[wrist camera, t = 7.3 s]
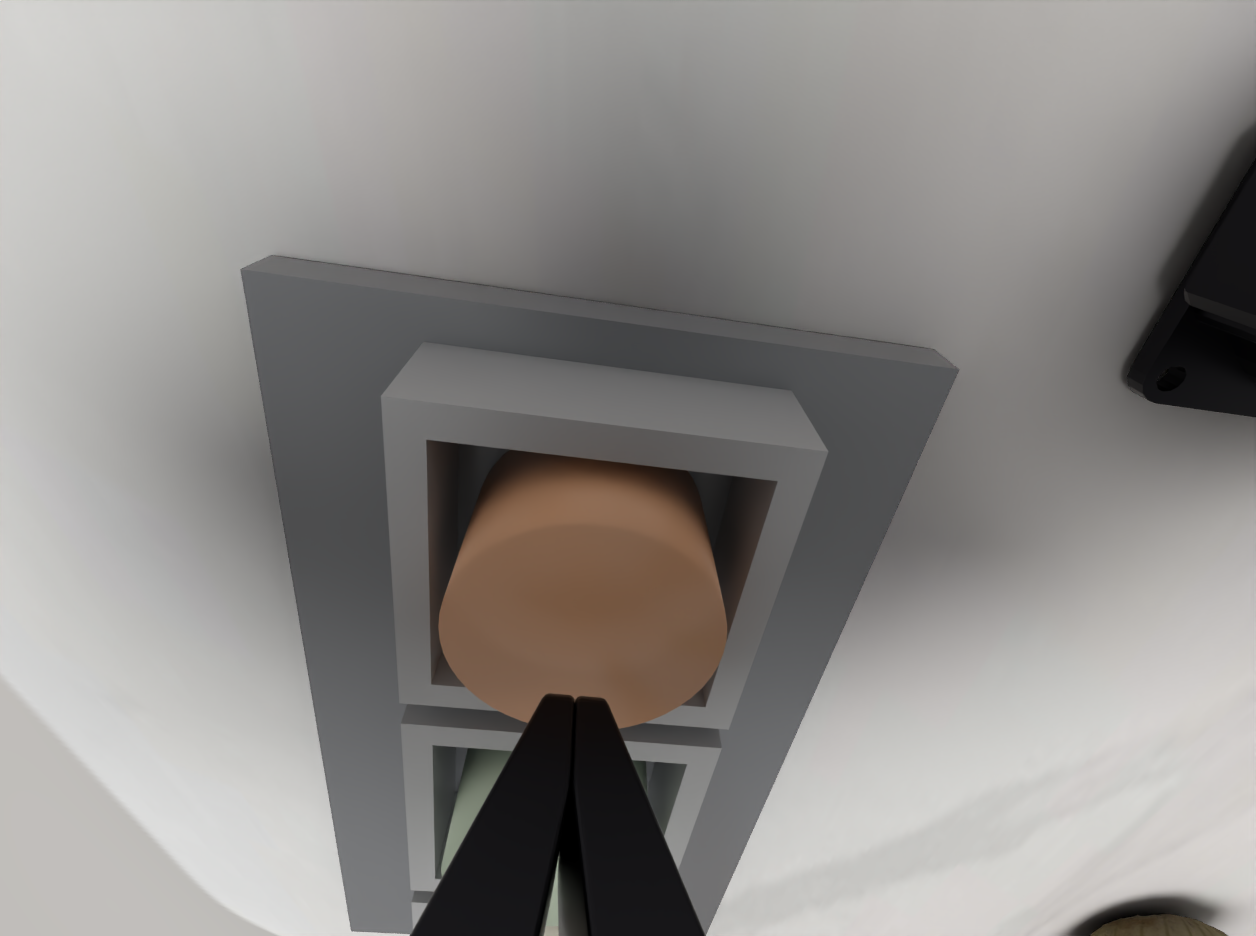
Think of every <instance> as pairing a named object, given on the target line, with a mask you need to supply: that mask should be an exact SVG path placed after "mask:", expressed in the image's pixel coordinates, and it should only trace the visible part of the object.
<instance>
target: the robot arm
mask: <svg viewBox="0 0 1256 936" xmlns="http://www.w3.org/2000/svg"><path fill="white" fill-rule="evenodd" d="M1168 368H1169V370H1168V372H1167V373H1166V375H1165V376H1164V377H1163V378H1162V379H1160V380H1158V377H1159V376H1160V375H1161V374H1162V373H1163V371H1164V370H1166V369H1168ZM1157 380H1158V381H1157ZM1127 382H1128V386H1129V388H1130V389H1131V390H1132V392H1134V393H1136V394H1138V395H1139V396H1141V397H1143V398H1145V399H1146V400H1149V401H1151V402H1154V403H1158V404H1165V405H1172V406H1179V407H1186V408H1194V409H1201V410H1208V411H1215V412H1223V413H1230V414H1237V415H1244V416H1251V417H1256V159H1255V160H1254V162H1253V164H1252V165H1251V167H1250V169H1249V170H1248V172H1247V174H1246V175H1245V177H1244V179H1243V180H1242V182H1241V184H1240V185H1239V187H1238V189H1237V190H1236V192H1235V194H1234V195H1233V197H1232V199H1231V200H1230V202H1229V204H1228V205H1227V207H1226V209H1225V210H1224V212H1223V214H1222V216H1221V217H1220V219H1219V221H1218V222H1217V224H1216V226H1215V227H1214V229H1213V231H1212V232H1211V234H1210V236H1209V237H1208V239H1207V241H1206V242H1205V244H1204V246H1203V247H1202V249H1201V251H1200V252H1199V254H1198V256H1197V257H1196V259H1195V261H1194V262H1193V264H1192V266H1191V267H1190V269H1189V271H1188V272H1187V274H1186V276H1185V277H1184V279H1183V281H1182V282H1181V284H1180V286H1179V288H1178V289H1177V291H1176V293H1175V294H1174V296H1173V298H1172V299H1171V301H1170V303H1169V304H1168V306H1167V308H1166V309H1165V311H1164V313H1163V314H1162V316H1161V318H1160V319H1159V321H1158V323H1157V324H1156V326H1155V328H1154V329H1153V331H1152V333H1151V334H1150V336H1149V338H1148V339H1147V341H1146V343H1145V344H1144V346H1143V348H1142V349H1141V351H1140V353H1139V354H1138V356H1137V358H1136V360H1135V361H1134V363H1133V365H1132V366H1131V368H1130V371H1129V373H1128V376H1127ZM558 857H559V858H558ZM557 862H558V930H559V936H706V935H705V932H704V930H703V927H702V925H701V923H700V920H699V918H698V916H697V913H696V911H695V908H694V906H693V904H692V901H691V899H690V897H689V894H688V892H687V889H686V887H685V885H684V882H683V880H682V878H681V875H680V873H679V870H678V868H677V866H676V863H675V861H674V858H673V856H672V854H671V851H670V849H669V847H668V844H667V842H666V839H665V837H664V835H663V832H662V830H661V828H660V825H659V823H658V820H657V818H656V816H655V813H654V811H653V809H652V806H651V804H650V801H649V799H648V797H647V794H646V792H645V790H644V787H643V785H642V782H641V780H640V778H639V775H638V773H637V771H636V768H635V766H634V763H633V761H632V759H631V756H630V754H629V752H628V749H627V747H626V744H625V742H624V740H623V737H622V735H621V733H620V730H619V728H618V725H617V723H616V721H615V718H614V716H613V714H612V711H611V709H610V706H609V704H608V703H607V701H606V700H605V699H604V698H601V697H589V696H579V697H577V698H576V699H574V697H572V696H571V695H565V694H553V693H548V694H545V695H544V696H543V698H542V699H541V701H540V702H539V704H538V706H537V708H536V710H535V711H534V713H533V715H532V717H531V719H530V720H529V722H528V724H527V726H526V728H525V729H524V731H523V733H522V735H521V737H520V738H519V740H518V742H517V744H516V746H515V747H514V749H513V751H512V753H511V755H510V756H509V758H508V760H507V762H506V764H505V765H504V767H503V769H502V771H501V773H500V774H499V776H498V778H497V780H496V782H495V783H494V785H493V787H492V789H491V791H490V792H489V794H488V796H487V798H486V799H485V801H484V803H483V805H482V807H481V808H480V810H479V812H478V814H477V816H476V817H475V819H474V821H473V823H472V825H471V826H470V828H469V830H468V832H467V834H466V835H465V837H464V839H463V841H462V843H461V844H460V846H459V848H458V850H457V852H456V853H455V855H454V857H453V859H452V861H451V862H450V864H449V866H448V868H447V870H446V871H445V873H444V875H443V877H442V879H441V880H440V882H439V884H438V886H437V887H436V889H435V891H434V893H433V895H432V896H431V898H430V900H429V902H428V904H427V905H426V907H425V909H424V911H423V913H422V914H421V916H420V918H419V920H418V922H417V923H416V925H415V927H414V929H413V931H412V932H411V934H410V936H544V932H545V927H546V922H547V917H548V912H549V907H550V902H551V897H552V892H553V886H554V880H555V874H556V868H557Z"/></svg>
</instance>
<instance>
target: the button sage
mask: <svg viewBox="0 0 1256 936" xmlns="http://www.w3.org/2000/svg"><path fill="white" fill-rule="evenodd" d="M511 753H512V751H504V750H490V749H477V748H468V749H467V754H466V758H465V762H464V767H463V771H462V776H461V780H460V785H459V789H458V793H457V798H456V802H455V807H454V811H453V816H452V820H451V824H450V829H449V833H448V838H447V842H446V847H445V851H444V855H443V860H442V866H441V874H442V877H443V875H444V873H445V871H446V870H447V868H448V866H449V864H450V862H451V861H452V859H453V857H454V855H455V853H456V852H457V850H458V848H459V846H460V844H461V843H462V841H463V839H464V837H465V835H466V834H467V832H468V830H469V828H470V826H471V825H472V823H473V821H474V819H475V817H476V816H477V814H478V812H479V810H480V808H481V807H482V805H483V803H484V801H485V799H486V798H487V796H488V794H489V792H490V791H491V789H492V787H493V785H494V783H495V782H496V780H497V778H498V776H499V774H500V773H501V771H502V769H503V767H504V765H505V764H506V762H507V760H508V758H509V756H510V755H511ZM632 761H633V763H634V766H635V768H636V771H637V773H638V775H639V778H640V780H641V782H642V785H643V787H644V790H645V792H646V794H647V797H648V791H647V770H646V761H638V760H632ZM558 858H559V857H558ZM546 926H558V862H557V868H556V874H555V880H554V886H553V892H552V897H551V902H550V907H549V912H548V917H547V922H546Z"/></svg>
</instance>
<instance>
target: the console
mask: <svg viewBox="0 0 1256 936" xmlns="http://www.w3.org/2000/svg"><path fill="white" fill-rule="evenodd" d="M241 274H242V280H243V286H244V292H245V298H246V304H247V310H248V316H249V322H250V328H251V334H252V340H253V346H254V352H255V358H256V364H257V370H258V376H259V382H260V388H261V394H262V400H263V406H264V412H265V418H266V424H267V430H268V436H269V442H270V448H271V454H272V460H273V466H274V472H275V478H276V484H277V490H278V496H279V502H280V508H281V514H282V520H283V526H284V532H285V538H286V544H287V550H288V556H289V562H290V568H291V574H292V580H293V586H294V591H295V597H296V603H297V609H298V615H299V621H300V627H301V633H302V639H303V645H304V651H305V657H306V663H307V669H308V675H309V681H310V687H311V693H312V699H313V705H314V711H315V717H316V723H317V729H318V735H319V741H320V747H321V753H322V759H323V765H324V771H325V777H326V783H327V789H328V795H329V801H330V807H331V813H332V819H333V825H334V831H335V837H336V843H337V849H338V855H339V861H340V867H341V873H342V879H343V885H344V891H345V897H346V903H347V909H348V915H349V921H350V927H351V931H357V932H378V933H400V934H411V932H412V931H413V929H414V927H415V925H416V923H417V922H418V920H419V918H420V916H421V914H422V913H423V911H424V909H425V907H426V905H427V904H428V902H429V900H430V898H431V896H432V895H433V893H434V891H435V889H436V887H437V886H438V884H439V882H440V880H441V879H442V874H441V866H442V860H443V855H444V851H445V847H446V842H447V838H448V833H449V829H450V824H451V820H452V816H453V811H454V807H455V802H456V798H457V793H458V789H459V785H460V780H461V776H462V771H463V767H464V762H465V758H466V754H467V749H468V748H477V749H490V750H504V751H513V749H514V747H515V746H516V744H517V742H518V740H519V738H520V737H521V735H522V733H523V731H524V729H525V728H526V726H527V724H528V723H526V722H523V721H520V720H518V719H515V718H513V717H510V716H508V715H505V714H504V713H502V712H500V711H498V710H496V709H494V708H492V707H491V706H489V705H488V704H486V703H485V702H483V701H482V700H480V699H479V698H478V697H476V696H475V695H474V694H473V693H472V692H471V691H469V690H468V689H467V688H466V687H465V686H464V685H463V683H462V682H461V681H460V680H459V679H458V678H457V676H456V675H455V673H454V672H453V671H452V669H451V668H450V666H449V664H448V662H447V660H446V658H445V656H444V654H443V650H442V647H441V643H440V638H439V629H438V624H439V613H440V609H441V605H442V602H443V598H444V595H445V592H446V589H447V586H448V584H449V581H450V578H451V575H452V572H453V569H454V566H455V563H456V560H457V557H458V554H459V551H460V548H461V546H462V543H463V540H464V537H465V534H466V531H467V528H468V525H469V522H470V519H471V516H472V513H473V510H474V508H475V505H476V502H477V499H478V496H479V493H480V490H481V487H482V485H483V483H484V481H485V479H486V476H487V475H488V473H489V472H490V470H491V469H492V467H493V466H494V465H495V464H496V462H497V461H498V460H499V459H500V458H501V457H502V456H503V455H504V454H505V453H506V452H508V451H509V450H519V451H527V452H535V453H544V454H552V455H561V456H569V457H578V458H586V459H595V460H603V461H611V462H620V463H628V464H637V465H645V466H654V467H662V468H670V469H679V470H687V471H688V472H689V474H690V475H691V477H692V478H693V480H694V482H695V484H696V486H697V488H698V492H699V495H700V498H701V501H702V506H703V511H704V515H705V520H706V525H707V529H708V534H709V539H710V543H711V548H712V553H713V557H714V562H715V566H716V571H717V576H718V580H719V585H720V590H721V594H722V599H723V604H724V608H725V613H726V621H727V640H726V645H725V649H724V653H723V656H722V658H721V660H720V663H719V665H718V667H717V669H716V670H715V672H714V673H713V675H712V677H711V678H710V679H709V680H708V682H707V683H706V684H705V685H704V686H703V687H702V689H700V690H699V691H698V692H697V693H696V694H695V695H694V696H693V697H692V698H690V699H689V700H688V701H686V702H685V703H683V704H682V705H681V706H679V707H677V708H676V709H674V710H672V711H670V712H668V713H667V714H665V715H662V716H660V717H658V718H655V719H653V720H650V721H647V722H644V723H641V724H638V725H634V726H630V727H625V728H621V729H619V730H620V733H621V735H622V737H623V740H624V742H625V744H626V747H627V749H628V752H629V754H630V756H631V759H632V760H638V761H646V770H647V791H648V799H649V801H650V804H651V806H652V809H653V811H654V813H655V816H656V818H657V820H658V823H659V825H660V828H661V830H662V832H663V835H664V837H665V839H666V842H667V844H668V847H669V849H670V851H671V854H672V856H673V858H674V861H675V863H676V866H677V868H678V870H679V873H680V875H681V878H682V880H683V882H684V885H685V887H686V889H687V892H688V894H689V897H690V899H691V901H692V904H693V906H694V908H695V911H696V913H697V916H698V918H699V920H700V923H701V925H702V927H703V930H704V932H705V935H706V934H707V931H708V929H709V927H710V925H711V923H712V920H713V918H714V916H715V914H716V911H717V909H718V907H719V905H720V902H721V900H722V898H723V896H724V893H725V891H726V889H727V887H728V885H729V882H730V880H731V878H732V876H733V873H734V871H735V869H736V867H737V864H738V862H739V860H740V858H741V856H742V853H743V851H744V849H745V847H746V844H747V842H748V840H749V838H750V835H751V833H752V831H753V829H754V826H755V824H756V822H757V820H758V818H759V815H760V813H761V811H762V809H763V806H764V804H765V802H766V800H767V797H768V795H769V793H770V791H771V789H772V786H773V784H774V782H775V780H776V777H777V775H778V773H779V771H780V768H781V766H782V764H783V762H784V760H785V757H786V755H787V753H788V751H789V748H790V746H791V744H792V742H793V739H794V737H795V735H796V733H797V730H798V728H799V726H800V724H801V722H802V719H803V717H804V715H805V713H806V710H807V708H808V706H809V704H810V701H811V699H812V697H813V695H814V693H815V690H816V688H817V686H818V684H819V681H820V679H821V677H822V675H823V672H824V670H825V668H826V666H827V664H828V661H829V659H830V657H831V655H832V652H833V650H834V648H835V646H836V643H837V641H838V639H839V637H840V634H841V632H842V630H843V628H844V626H845V623H846V621H847V619H848V617H849V614H850V612H851V610H852V608H853V605H854V603H855V601H856V599H857V597H858V594H859V592H860V590H861V588H862V585H863V583H864V581H865V579H866V576H867V574H868V572H869V570H870V567H871V565H872V563H873V561H874V559H875V556H876V554H877V552H878V550H879V547H880V545H881V543H882V541H883V538H884V536H885V534H886V532H887V530H888V527H889V525H890V523H891V521H892V518H893V516H894V514H895V512H896V509H897V507H898V505H899V503H900V501H901V498H902V496H903V494H904V492H905V489H906V487H907V485H908V483H909V480H910V478H911V476H912V474H913V471H914V469H915V467H916V465H917V463H918V460H919V458H920V456H921V454H922V451H923V449H924V447H925V445H926V442H927V440H928V438H929V436H930V434H931V431H932V429H933V427H934V425H935V422H936V420H937V418H938V416H939V413H940V411H941V409H942V407H943V405H944V402H945V400H946V398H947V396H948V393H949V391H950V389H951V387H952V384H953V382H954V380H955V378H956V375H957V373H958V371H959V369H958V368H957V367H956V366H954V365H953V364H952V363H951V362H949V361H948V360H947V359H946V358H944V357H943V356H942V355H940V354H939V353H938V352H937V351H935V350H934V349H928V348H921V347H914V346H907V345H900V344H893V343H886V342H879V341H872V340H865V339H858V338H850V337H843V336H836V335H829V334H822V333H815V332H808V331H801V330H794V329H787V328H780V327H773V326H766V325H759V324H752V323H745V322H738V321H731V320H724V319H717V318H710V317H703V316H696V315H688V314H681V313H674V312H667V311H660V310H653V309H646V308H639V307H632V306H625V305H618V304H611V303H604V302H597V301H590V300H583V299H576V298H569V297H562V296H555V295H548V294H541V293H533V292H526V291H519V290H512V289H505V288H498V287H491V286H484V285H477V284H470V283H463V282H456V281H449V280H442V279H435V278H428V277H421V276H414V275H407V274H400V273H393V272H386V271H379V270H371V269H364V268H357V267H350V266H343V265H336V264H329V263H322V262H315V261H308V260H301V259H294V258H287V257H280V256H273V255H270V256H268V257H266V258H264V259H262V260H259V261H257V262H255V263H253V264H251V265H249V266H246V267H244V268H242V269H241Z"/></svg>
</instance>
